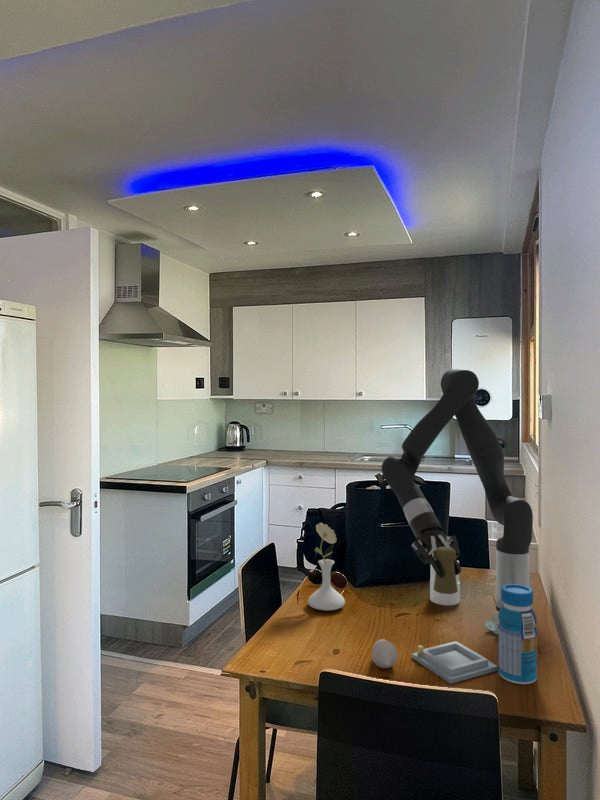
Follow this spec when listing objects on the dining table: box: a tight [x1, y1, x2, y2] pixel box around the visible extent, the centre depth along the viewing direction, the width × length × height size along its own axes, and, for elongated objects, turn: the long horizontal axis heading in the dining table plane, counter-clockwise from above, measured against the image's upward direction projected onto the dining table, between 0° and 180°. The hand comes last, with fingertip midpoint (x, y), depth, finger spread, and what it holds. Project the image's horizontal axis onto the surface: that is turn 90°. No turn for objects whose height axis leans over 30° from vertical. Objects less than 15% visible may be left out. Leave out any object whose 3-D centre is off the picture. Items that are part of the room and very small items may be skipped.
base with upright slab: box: [429, 560, 461, 606], centre depth 175 cm, size 9×9×12 cm
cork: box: [434, 547, 458, 594], centre depth 145 cm, size 6×6×11 cm
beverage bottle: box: [497, 584, 538, 685], centre depth 127 cm, size 8×8×20 cm
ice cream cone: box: [371, 639, 399, 669], centre depth 130 cm, size 6×6×15 cm
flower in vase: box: [307, 522, 346, 612], centre depth 170 cm, size 13×11×25 cm
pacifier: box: [484, 610, 500, 636], centre depth 151 cm, size 7×6×6 cm
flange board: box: [411, 640, 498, 685], centre depth 133 cm, size 14×14×3 cm
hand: (450, 574), depth 143 cm, fingers closed on cork, 4 cm apart
